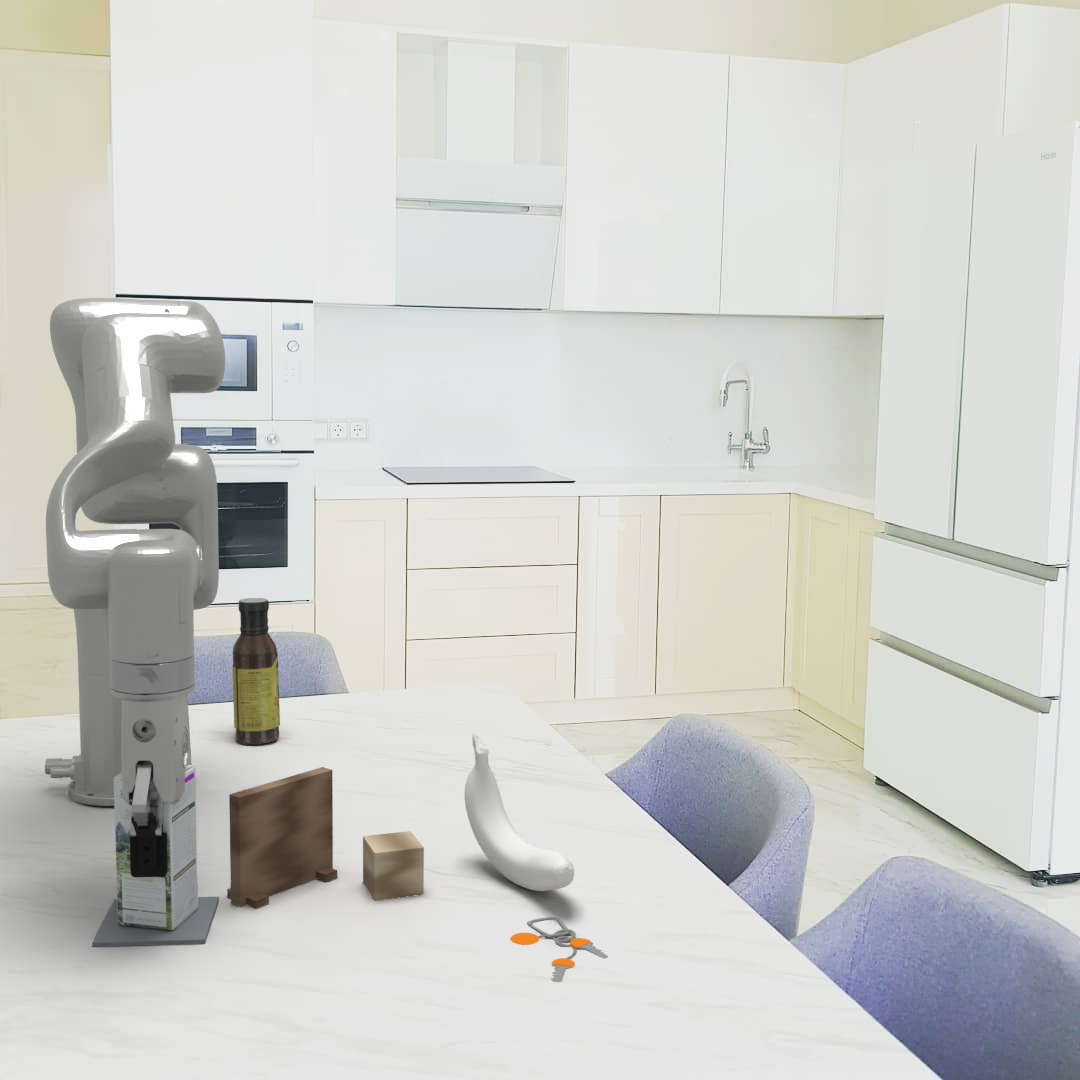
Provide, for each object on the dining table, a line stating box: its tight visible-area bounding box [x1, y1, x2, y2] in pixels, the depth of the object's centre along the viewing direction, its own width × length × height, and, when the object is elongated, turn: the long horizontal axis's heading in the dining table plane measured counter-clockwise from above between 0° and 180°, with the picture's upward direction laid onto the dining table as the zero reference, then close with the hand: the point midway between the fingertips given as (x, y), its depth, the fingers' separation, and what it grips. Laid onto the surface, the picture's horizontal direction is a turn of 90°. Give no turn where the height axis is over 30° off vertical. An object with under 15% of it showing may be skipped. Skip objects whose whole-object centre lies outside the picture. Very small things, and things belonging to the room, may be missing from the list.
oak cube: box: [362, 830, 425, 902], centre depth 137 cm, size 5×5×5 cm
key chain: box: [509, 916, 609, 983], centre depth 124 cm, size 13×7×1 cm, turn 24°
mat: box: [91, 896, 220, 948], centre depth 128 cm, size 10×10×1 cm
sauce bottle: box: [232, 597, 281, 746], centre depth 188 cm, size 6×6×20 cm
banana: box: [464, 733, 575, 892], centre depth 138 cm, size 5×19×15 cm, turn 37°
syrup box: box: [113, 764, 199, 930], centre depth 127 cm, size 6×6×14 cm
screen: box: [226, 766, 338, 909], centre depth 136 cm, size 12×4×11 cm, turn 141°
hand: (156, 858), depth 127 cm, fingers closed on syrup box, 7 cm apart
